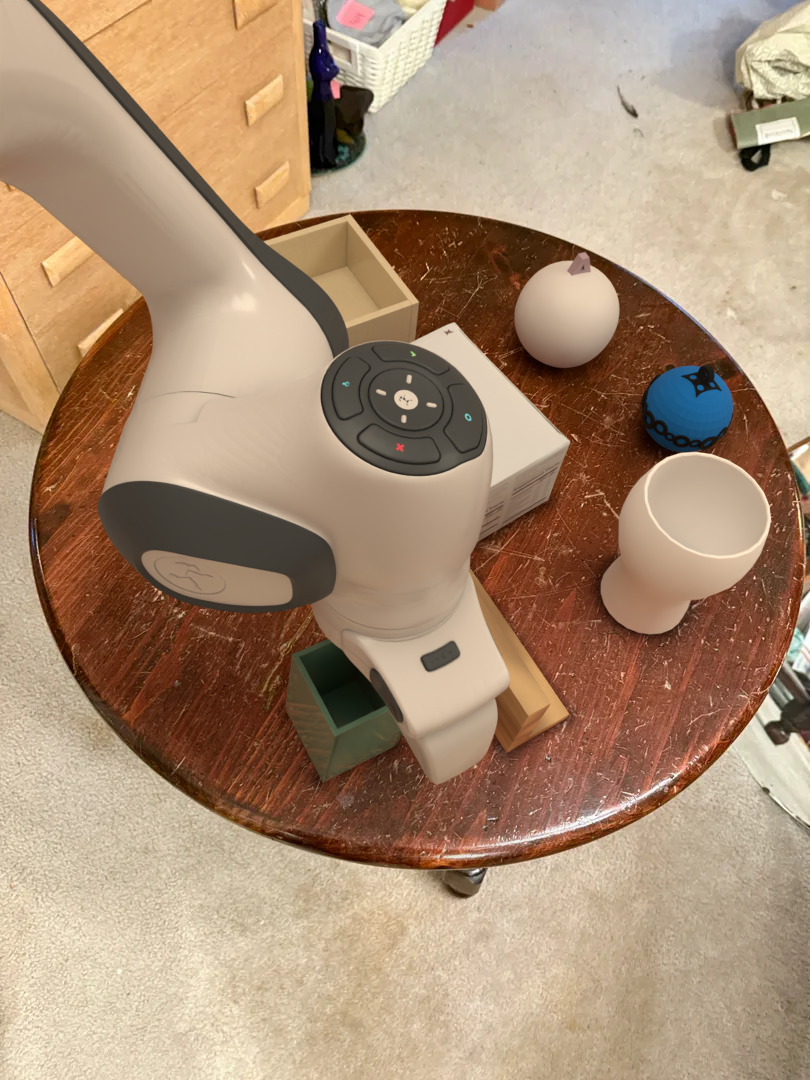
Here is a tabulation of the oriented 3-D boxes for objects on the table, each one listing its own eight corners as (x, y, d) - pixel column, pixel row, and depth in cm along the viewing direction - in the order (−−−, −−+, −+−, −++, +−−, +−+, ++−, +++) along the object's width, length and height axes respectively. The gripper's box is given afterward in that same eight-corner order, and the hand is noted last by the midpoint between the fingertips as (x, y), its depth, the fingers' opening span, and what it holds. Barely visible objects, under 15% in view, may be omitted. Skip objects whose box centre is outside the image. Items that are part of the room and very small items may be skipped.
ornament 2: (729, 458, 82) (775, 391, 73) (655, 480, 80) (693, 414, 71) (686, 395, 86) (724, 325, 77) (614, 414, 84) (645, 344, 75)
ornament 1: (548, 302, 91) (574, 211, 81) (621, 353, 88) (657, 264, 78) (488, 348, 87) (507, 257, 77) (562, 402, 84) (593, 315, 74)
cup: (631, 524, 77) (690, 423, 64) (724, 598, 73) (806, 507, 61) (560, 592, 73) (607, 498, 60) (655, 674, 69) (727, 593, 56)
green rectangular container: (355, 777, 66) (264, 793, 56) (319, 707, 69) (225, 711, 59) (462, 694, 63) (385, 696, 52) (419, 625, 65) (338, 614, 55)
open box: (252, 412, 81) (244, 364, 75) (195, 316, 87) (184, 265, 81) (414, 350, 86) (419, 302, 81) (349, 265, 92) (350, 214, 87)
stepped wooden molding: (506, 753, 65) (528, 716, 57) (406, 594, 72) (414, 542, 64) (567, 718, 67) (596, 677, 59) (464, 566, 73) (478, 512, 66)
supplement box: (336, 440, 80) (336, 375, 72) (444, 385, 84) (454, 318, 76) (439, 567, 73) (451, 510, 65) (550, 500, 78) (574, 439, 70)
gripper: (259, 469, 50) (274, 575, 62) (428, 760, 42) (408, 819, 53) (350, 432, 52) (348, 542, 64) (529, 704, 44) (488, 772, 55)
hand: (377, 670), depth 59 cm, fingers closed, pressing on green rectangular container
